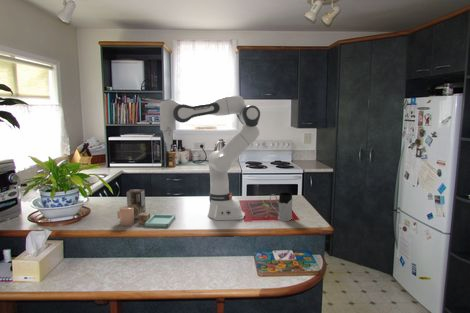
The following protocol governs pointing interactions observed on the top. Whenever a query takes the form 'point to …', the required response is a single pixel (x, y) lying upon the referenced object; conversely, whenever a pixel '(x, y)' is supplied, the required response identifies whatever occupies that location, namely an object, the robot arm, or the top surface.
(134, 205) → the coffee box
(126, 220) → the tan ball with tab
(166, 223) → the tray
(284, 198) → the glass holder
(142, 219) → the walnut block
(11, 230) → the top surface
